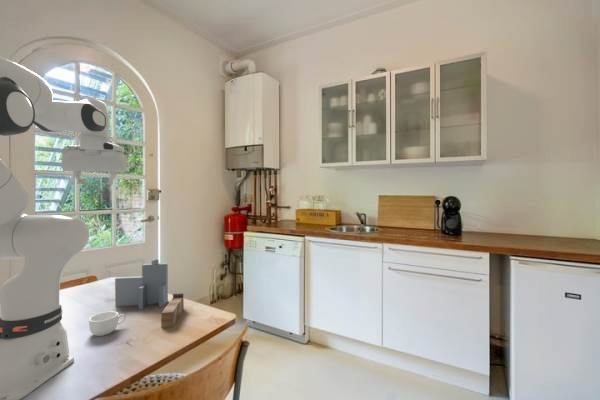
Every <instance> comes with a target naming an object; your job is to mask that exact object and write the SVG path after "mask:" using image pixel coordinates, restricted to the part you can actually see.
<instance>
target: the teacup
mask: <svg viewBox="0 0 600 400" xmlns="http://www.w3.org/2000/svg"><path fill="white" fill-rule="evenodd" d="M122 316H123V319H122V320H120V318H121V317H122ZM119 320H120V321H119ZM125 320H126V314H125V313H124V314H123V313H121V314H119V312H118V311H114V310H113V311H112V310H110V311H103V312H99V313H96V314H93V315H91V316H90V317H89V318H88V325H89V331H90V333H91V334H92V335H93V336H96V337H104V336H107V335H109V334H111V333H112V332H114V331H115V330H116V328H117V326H118V325H120V324H121V323H123V322H124V321H125Z"/></svg>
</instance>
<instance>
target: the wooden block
mask: <svg viewBox="0 0 600 400" xmlns="http://www.w3.org/2000/svg"><path fill="white" fill-rule="evenodd" d="M184 304H185V303H184V293H183V292H181V293H173V294H172V298H171V300H170V301H168V303H167V304H166V305H165V306H164V309H163V310H162V312H161V313H160V314H161V315H160V316H161V317H160V318H161V319H160V320H161V322H160V324H161V325H160V327H161V328H163V329H164V328H173V327H174V325H175V324H176V323H177V322H178V319H179V318H180V316H181V315H182V313H183V311H184V310H185V309H184Z"/></svg>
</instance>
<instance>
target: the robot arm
mask: <svg viewBox="0 0 600 400" xmlns="http://www.w3.org/2000/svg"><path fill="white" fill-rule="evenodd" d="M109 114H110V113H109V110H108V106H107V104H106V103H105V102H103V101H101V100H99V99H96V98H91V97H86V98H82V99H81V101H67V100H65V101H64V100H54V94H53V90H52V88H51V86H50V84H49V83H48V82H47V81H46V80H45V79H44V78H43V77H41V76H40V75H38V74H37V73H35V72H33V71H32V70H30V69H28V68H26V67H25V66H23V65H20V64H18V63H17V62H14V61H13V60H10V59H7V58H5V57H2V56H0V136H5V137H6V136H7V137H8V136H14V135H20V134H24V133H26V132H28V131H29V130H30V128H31V127H32V126H33V125H34V126H35V127H37V128H38V129H40V130H42V131H44V132H46V133H49V132H50V133H54V132H55V133H56V132H57V133H58V132H68V133H69V132H71V133H79V138H78V139H79V145H66V146H65V147H63V148H62V151H61V152H62V158H61V163H60V164H61V166H60V167H61V170H63V172H69V173H70V172H73V173H72V174H73V176H74V178H75V179H76V180H77V181H76V184H77V185H85V179H84V178H82V177H81V175H82V173H85V172H86V173H109V176H110V177H109V178H108V179H106V180H105V181H106V182H105V183H106V185H107V186H108V185H109V186H110V185H114V179H115V178H116V177H117V173H126V172H127V170H128V160H127V155H125V154H124V153H125V147H123V146H122V145H118V144H117V143H116V144H115V143H113V142H110V139H111V138H110V135H109V130H110V115H109ZM30 197H31V196H30V193H29V191H28V190H27V189H26V188H25V186H24V184H22V182H21V181H20V180H19V178H18V177H17V176H16V175H15V174H14V173H13V171H12V170H11V169H10V167H9V166H8V165H7V163H5V161H4V160H3V159H2V158H1V157H0V260H21V259H22V260H23V259H24V263H23V267H22V270H21V271H20V272H19V273H17V274H14V275H13V276H11V277H10V278H8V279H7V280H6V281H5V282H3V284H2V285H1V287H0V400H21V399H23V398H25V397H26V396H28V395H29V394H30V393H31V392H33V391H34V390H37V388H39V387H40V386H41V385H43V384H44V383H45V382H47V381H48V380H50V379H51V378H52V377H53V376H56V375H57V374H58V373H59V372H61V371H62V370H64V369H65V368H67V367H68V366H69V365H71V364H73V362H74V361H75V358H74V356H73V355H72V354H70V349H69V339H68V334H67V330H66V329H65V328H64V325H63V324H62V322H61V321H62V319H63V309H62V308H63V307H62V305H61V304H60V291H61V280H62V279H61V278H62V275H63V272H64V270H65V268H66V267H67V265H68V263H69V262H70V260H72V259H73V258H74V257H75V256H76V255H78V254H79V253H81V252H82V251H83V250H84V249H85V247H86V246H87V245H88V242H89V239H90V230H89V227H88V225H87V223H85V221H84V220H82V219H81V218H77V217H73V216H67V215H62V214H61V215H60V214H59V215H58V214H57V215H55V214H53V215H52V214H50V215H48V214H47V215H46V214H45V215H44V214H43V215H40V214H39V215H38V214H36V215H32V214H26V213H24V212H25V211H26V210H27V208H28V207H29V204H30V199H31V198H30Z"/></svg>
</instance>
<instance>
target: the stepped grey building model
mask: <svg viewBox="0 0 600 400" xmlns="http://www.w3.org/2000/svg"><path fill="white" fill-rule="evenodd" d="M168 265H169V264H168V262H161V263H160V261H159V259H157V258H154V259H152V260H151V263H143V264H142V265H141V267H142V268H141V269H142V270H141V274H142V275H141V276H140V275H139V276H138V275H136V276H135V275H134V276H117V277H115V278H114V290H115V292H114V294H115V296H114V298H115V304H114V305H115V307H125V306H138V309H144V308H145V307H146V306H147V305H156V304H155V303H159V304H158V306H159V308H165V307H166V305H167V304H168V303H169V291H168V289H169V288H168V287H169V286H168V284H169V282H168V281H169V279H168V278H169V275H168V274H169V272H168V271H169V270H168Z"/></svg>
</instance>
